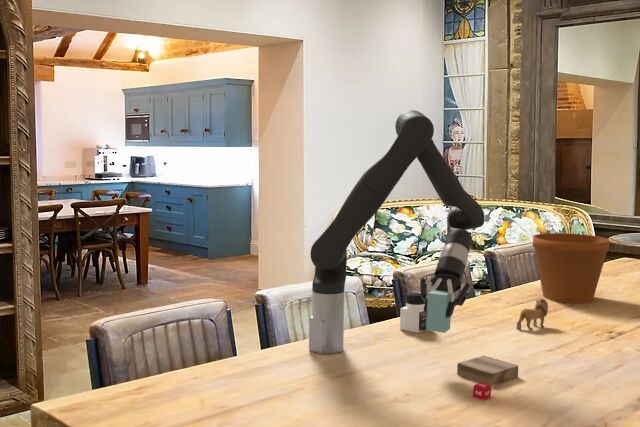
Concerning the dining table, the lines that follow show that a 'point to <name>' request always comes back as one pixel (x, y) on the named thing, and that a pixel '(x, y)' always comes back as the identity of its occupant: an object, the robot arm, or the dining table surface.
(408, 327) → the medicine bottle
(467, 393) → the dining table surface
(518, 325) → the lion figurine
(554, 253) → the flowerpot
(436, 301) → the teal pillar block
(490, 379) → the walnut base plate
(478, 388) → the dice
